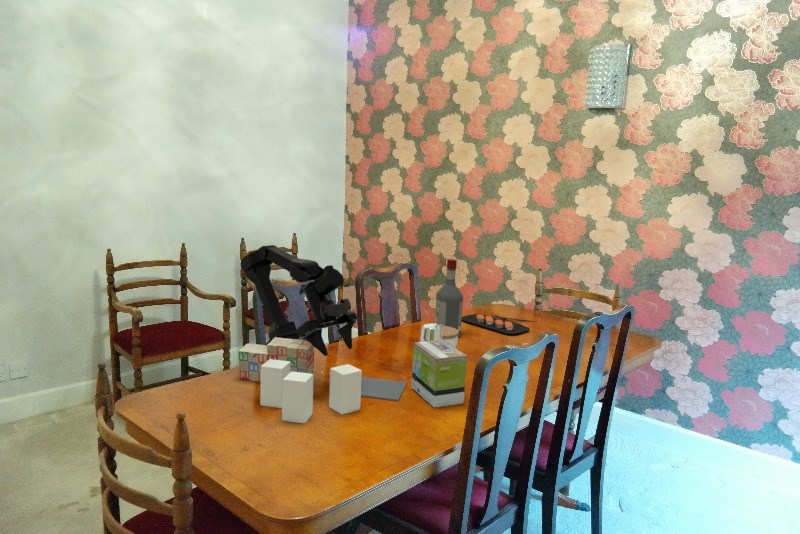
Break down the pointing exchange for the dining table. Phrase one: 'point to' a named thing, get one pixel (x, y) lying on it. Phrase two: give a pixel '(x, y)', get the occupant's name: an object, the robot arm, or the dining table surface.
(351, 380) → the white rectangular prism
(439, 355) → the tea box
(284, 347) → the stack of blocks
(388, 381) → the charcoal mat
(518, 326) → the sushi plate
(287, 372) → the long cream brick
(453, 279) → the liquor
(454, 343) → the lidded bowl
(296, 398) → the tall white pillar block
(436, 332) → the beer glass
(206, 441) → the dining table surface
